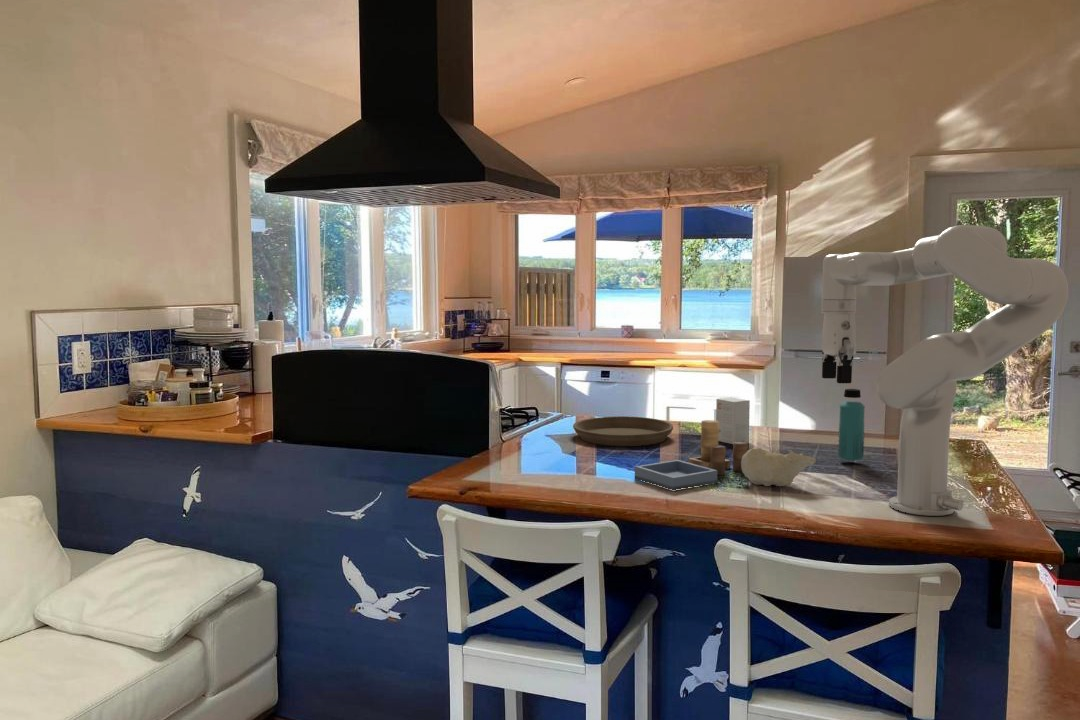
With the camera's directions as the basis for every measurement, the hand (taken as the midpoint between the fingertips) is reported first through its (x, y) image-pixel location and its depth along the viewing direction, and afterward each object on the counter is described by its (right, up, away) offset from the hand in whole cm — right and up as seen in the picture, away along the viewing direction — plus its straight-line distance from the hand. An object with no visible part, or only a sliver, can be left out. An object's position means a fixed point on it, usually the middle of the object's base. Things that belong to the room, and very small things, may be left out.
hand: (836, 380), depth 189 cm
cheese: (-13, -25, +4) cm, 28 cm away
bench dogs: (-21, -24, +16) cm, 36 cm away
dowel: (-25, -23, +22) cm, 41 cm away
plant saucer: (-44, -20, +62) cm, 79 cm away
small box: (-11, -20, +56) cm, 60 cm away
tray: (-37, -25, +6) cm, 45 cm away
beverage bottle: (+13, -23, +26) cm, 38 cm away
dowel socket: (-25, -23, +22) cm, 41 cm away
